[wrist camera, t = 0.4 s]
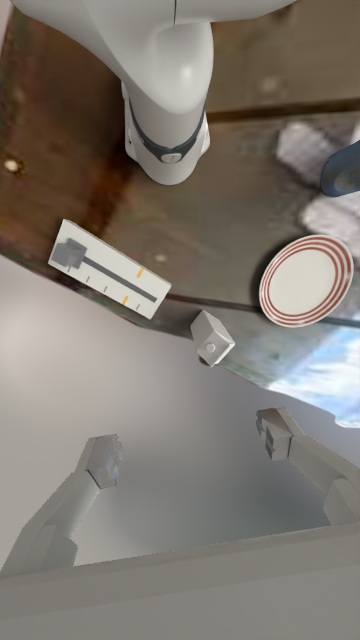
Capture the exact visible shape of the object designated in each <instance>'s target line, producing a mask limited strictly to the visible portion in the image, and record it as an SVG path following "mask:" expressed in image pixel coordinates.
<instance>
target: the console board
mask: <svg viewBox="0 0 360 640" xmlns="http://www.w3.org/2000/svg"><path fill="white" fill-rule="evenodd" d="M69 238H71V239H73V240H75V241H76V242H78V243H80V244H81V245H83V246H85V247H86V248H88V249H87V251H86V254H85V256H84V258H83V261H82V263H81V265H80V268H79V269H76V268H75V267H73V266H68V267H64V266H62V265H60V264H58V263H57V262H55V261H53V260H51V259H52V256H53V253H54V251H55V248H56V245H57V243H67V242H68V239H69ZM48 264H50V265H51V266H53V267H55V268H57V269H59V270H61V271H62V272H64V273H66V274H68V275H70V276H72V277H73V278H75V279H77V280H79V281H81V282H83V283H84V284H86V285H88V286H90V287H92V288H94V289H95V290H97V291H99V292H101V293H103V294H105V295H106V296H108V297H110V298H112V299H114V300H116V301H118V302H119V303H121V304H123V305H125V306H127V307H129V308H130V309H132V310H134V311H136V312H138V313H140V314H141V315H143V316H145V317H147V318H149V319H151V318H152V316H153V315H154V313H155V311H156V310H157V308H158V307H159V305H160V303H161V302H162V300H163V299H164V297H165V295H166V294H167V292H168V291H169V289H170V287H171V283H169V282H168V281H166V280H164V279H163V278H161V277H160V276H158V275H156V274H155V273H153V272H152V271H150V270H148V269H147V268H145V267H144V266H142V265H140V264H139V263H137V262H136V261H134V260H132V259H131V258H129V257H128V256H126V255H124V254H123V253H121V252H120V251H118V250H116V249H115V248H113V247H112V246H110V245H108V244H107V243H105V242H104V241H102V240H101V239H99V238H97V237H96V236H94V235H93V234H91V233H89V232H88V231H86V230H85V229H83V228H81V227H80V226H78V225H77V224H75V223H73V222H72V221H70V220H66V219H63V222H62V225H61V228H60V231H59V233H58V236H57V239H56V242H55V245H54V247H53V250H52V253H51V256H50V259H49V262H48Z"/></svg>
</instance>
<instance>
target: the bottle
mask: <svg viewBox="0 0 360 640" xmlns="http://www.w3.org/2000/svg"><path fill="white" fill-rule="evenodd" d="M321 187H322V190H323V192H324V193H325V194H326V195H328V196H330V197H339V196H342V195H346V194H349V193H353V192H357V191H360V140H359V141H357V142H356V143H354V144H352V145H350V146H348V147H346V148H344V149H342V150H340V151H339V152H337V153H336V154H334V155H333V156H332V157H331V158H330V159H329V161H328V162H327V164H326V165H325V167H324V169H323V172H322V175H321Z"/></svg>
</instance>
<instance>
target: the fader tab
mask: <svg viewBox="0 0 360 640" xmlns="http://www.w3.org/2000/svg"><path fill="white" fill-rule="evenodd" d="M87 249H88V248H86V247H85V246H83V245H81V244H80V243H78V242H76V241H75V240H73V239H71V238H69V239H68V242H67V243H57V245H56V248H55V251H54V253H53V256H52V259H51V260H53V261H55V262H57V263H58V264H60V265H62V266H64V267H68V266H73V267H75V268H76V269H79V268H80V265H81V263H82V261H83V258H84V256H85V254H86V251H87Z"/></svg>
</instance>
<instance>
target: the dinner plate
mask: <svg viewBox="0 0 360 640" xmlns="http://www.w3.org/2000/svg"><path fill="white" fill-rule="evenodd" d="M352 276H353V260H352V256H351V253H350V251H349V249H348V248H347V246H346V245H345V244H344V243H343V242H341V241H340V240H338V239H337V238H334V237H332V236H328V235H310V236H306V237H303V238H300V239H298V240H296V241H294V242H292V243H290V244H289V245H287V246H286V247H284V248H283V249H282V250H281V251H280V252H279V253H278V254H277V255H276V256H275V257H274V258H273V259H272V260H271V262H270V263H269V265H268V266H267V268H266V270H265V272H264V274H263V276H262V279H261V282H260V287H259V301H260V305H261V308H262V310H263V312H264V313H265V315H266V316H267V317H268V318H269V319H270V320H271V321H273V322H274V323H276V324H278V325H281V326H285V327H302V326H306V325H309V324H312V323H314V322H317V321H319V320H320V319H322V318H324V317H325V316H327V315H328V314H329V313H330V312H332V311H333V310H334V309H335V308H336V307H337V306H338V305H339V303H340V302H341V301H342V299H343V298H344V296H345V295H346V293H347V291H348V289H349V286H350V284H351V281H352Z"/></svg>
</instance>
